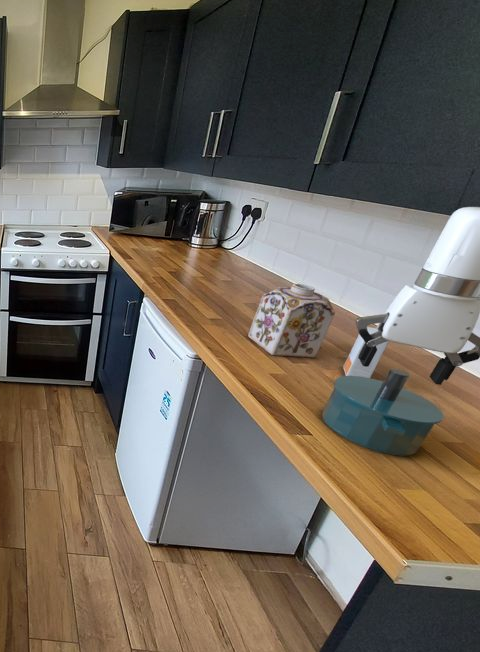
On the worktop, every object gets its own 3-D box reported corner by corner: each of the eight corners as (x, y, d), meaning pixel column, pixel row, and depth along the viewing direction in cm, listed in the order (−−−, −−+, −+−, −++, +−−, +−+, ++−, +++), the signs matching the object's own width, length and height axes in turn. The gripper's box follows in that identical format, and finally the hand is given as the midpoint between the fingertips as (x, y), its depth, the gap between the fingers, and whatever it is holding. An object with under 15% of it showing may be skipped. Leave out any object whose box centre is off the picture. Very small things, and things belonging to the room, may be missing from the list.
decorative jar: (246, 336, 117) (267, 277, 110) (286, 338, 117) (310, 280, 109) (272, 356, 106) (297, 293, 99) (316, 359, 106) (345, 295, 99)
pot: (401, 418, 83) (419, 388, 80) (433, 476, 68) (457, 442, 65) (316, 395, 90) (330, 366, 87) (328, 443, 75) (345, 410, 72)
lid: (425, 397, 78) (443, 368, 76) (454, 439, 67) (476, 406, 64) (327, 372, 86) (340, 345, 83) (338, 406, 74) (354, 376, 72)
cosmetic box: (341, 367, 102) (362, 325, 97) (364, 373, 100) (386, 330, 95) (345, 377, 98) (366, 333, 93) (368, 383, 95) (391, 339, 91)
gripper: (515, 290, 65) (456, 379, 72) (374, 269, 74) (334, 350, 81) (540, 303, 59) (474, 398, 67) (384, 278, 68) (340, 365, 75)
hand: (397, 372), depth 74 cm, fingers open, 9 cm apart
